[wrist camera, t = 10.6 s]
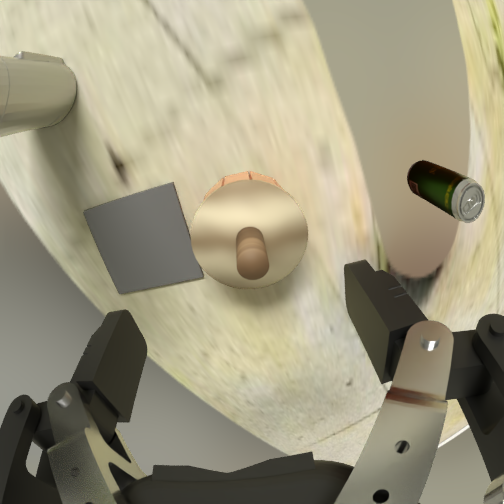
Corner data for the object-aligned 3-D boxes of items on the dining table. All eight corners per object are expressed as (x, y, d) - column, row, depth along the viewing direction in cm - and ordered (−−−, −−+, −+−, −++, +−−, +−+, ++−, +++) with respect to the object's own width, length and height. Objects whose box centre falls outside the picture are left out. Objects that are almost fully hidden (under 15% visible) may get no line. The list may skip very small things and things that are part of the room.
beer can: (415, 201, 38) (464, 233, 28) (399, 173, 37) (450, 199, 26) (438, 180, 37) (490, 206, 26) (423, 152, 35) (478, 171, 24)
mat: (84, 210, 36) (83, 211, 36) (173, 182, 36) (172, 182, 35) (120, 292, 43) (119, 294, 42) (203, 275, 42) (203, 276, 42)
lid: (177, 195, 31) (163, 217, 24) (296, 168, 30) (312, 183, 24) (209, 294, 36) (205, 330, 30) (312, 272, 36) (327, 305, 30)
